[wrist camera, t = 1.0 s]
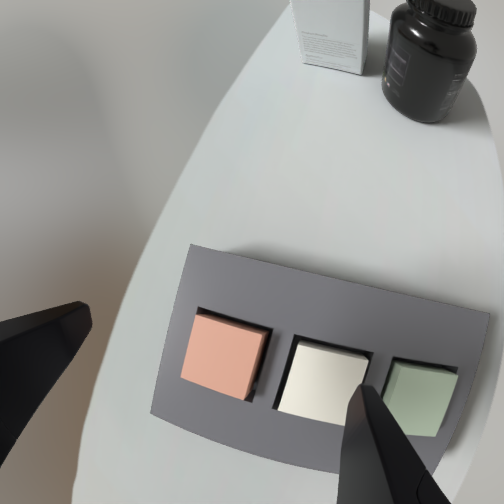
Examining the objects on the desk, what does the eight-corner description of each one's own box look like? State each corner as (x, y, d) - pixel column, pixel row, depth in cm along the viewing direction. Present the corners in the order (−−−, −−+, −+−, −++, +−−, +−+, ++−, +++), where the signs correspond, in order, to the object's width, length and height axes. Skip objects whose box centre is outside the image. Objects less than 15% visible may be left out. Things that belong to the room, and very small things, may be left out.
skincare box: (367, 51, 22) (373, -47, 11) (361, 79, 22) (369, -31, 10) (309, 40, 24) (294, -57, 12) (297, 65, 24) (278, -41, 12)
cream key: (342, 411, 16) (346, 426, 14) (282, 397, 17) (277, 410, 15) (361, 353, 16) (368, 360, 14) (300, 339, 17) (297, 344, 15)
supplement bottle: (432, 72, 21) (460, -20, 9) (458, 126, 19) (510, 34, 8) (370, 69, 22) (379, -35, 10) (392, 125, 21) (424, 12, 9)
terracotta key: (252, 388, 17) (243, 400, 15) (196, 369, 18) (180, 377, 16) (269, 331, 18) (262, 334, 16) (210, 313, 19) (195, 314, 17)
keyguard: (416, 459, 15) (429, 480, 12) (172, 400, 20) (150, 413, 17) (466, 313, 17) (490, 313, 14) (209, 253, 22) (190, 243, 18)
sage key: (422, 423, 15) (435, 436, 12) (371, 416, 16) (378, 431, 13) (442, 368, 15) (458, 375, 13) (390, 359, 16) (401, 366, 14)
